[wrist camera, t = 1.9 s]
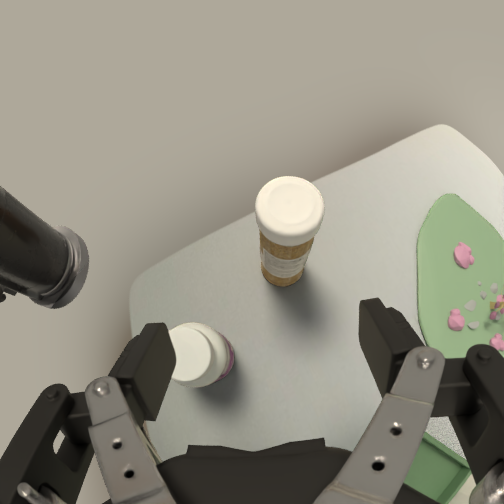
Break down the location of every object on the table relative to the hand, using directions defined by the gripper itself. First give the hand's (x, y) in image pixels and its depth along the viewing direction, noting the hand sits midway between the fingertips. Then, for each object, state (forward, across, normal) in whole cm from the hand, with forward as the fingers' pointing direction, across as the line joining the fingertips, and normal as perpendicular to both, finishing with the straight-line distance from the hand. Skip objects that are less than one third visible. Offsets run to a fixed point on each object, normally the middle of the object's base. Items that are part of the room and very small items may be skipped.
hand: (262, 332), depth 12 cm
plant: (+17, -25, +11) cm, 32 cm away
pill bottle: (+14, +7, +12) cm, 19 cm away
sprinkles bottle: (+19, -1, +5) cm, 20 cm away
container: (-3, -23, +35) cm, 42 cm away
